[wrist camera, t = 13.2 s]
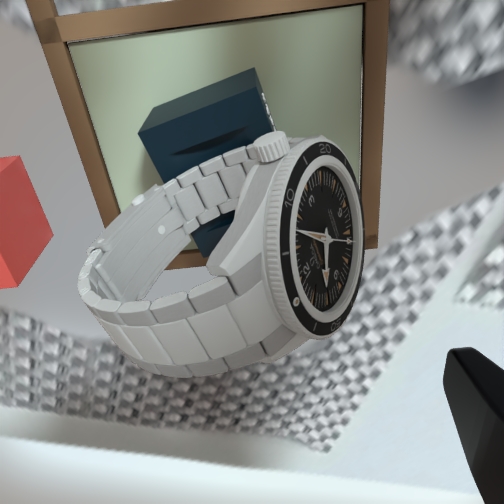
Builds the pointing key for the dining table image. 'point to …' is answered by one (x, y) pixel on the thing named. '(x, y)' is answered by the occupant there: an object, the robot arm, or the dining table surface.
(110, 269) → the watch
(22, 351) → the dining table surface
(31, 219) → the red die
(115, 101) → the brown flat frame
